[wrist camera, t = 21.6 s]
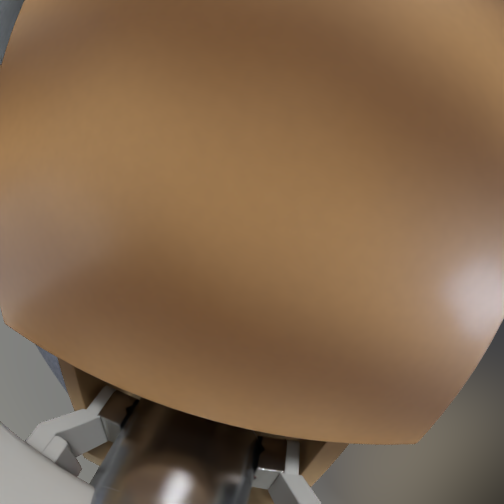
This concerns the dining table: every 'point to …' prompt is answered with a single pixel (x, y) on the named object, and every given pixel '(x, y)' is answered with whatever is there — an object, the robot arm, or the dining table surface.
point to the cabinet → (259, 204)
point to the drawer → (311, 451)
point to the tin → (176, 460)
